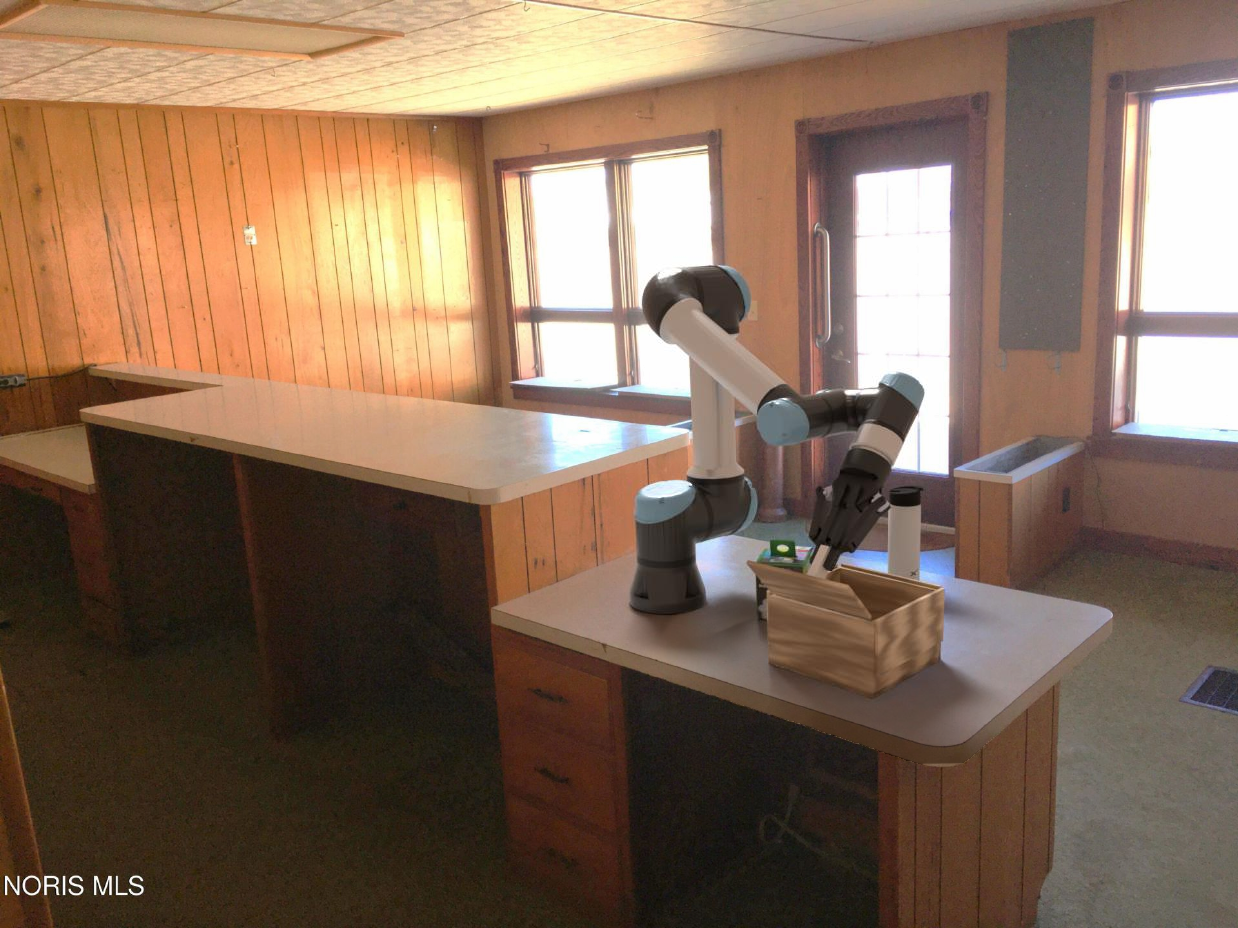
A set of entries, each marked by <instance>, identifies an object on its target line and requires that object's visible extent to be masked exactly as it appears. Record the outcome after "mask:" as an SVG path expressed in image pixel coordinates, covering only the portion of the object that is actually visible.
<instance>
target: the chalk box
mask: <svg viewBox="0 0 1238 928" xmlns="http://www.w3.org/2000/svg"><path fill="white" fill-rule="evenodd" d="M779 545H785V546H787V547H788V548H789V549H777V547H778V546H779ZM795 546H796V542H795V540H791V539H790V540H789V539H770V540H769V548H764V549H763V551H761V553H760V554H759V556H758V558H757V559H756V561H755V562H758V563H762V564H766V565H770V566H774V567H778V568H782V569H786V570H790V571H794V572H798V573H802V574H806V575H807V573H808V571H809V569H810V567H811V564H810V563H809V562H810V558H811V553H810V550H802V549H796V548H795ZM767 590H768V588H767V587H766V586H765V585H764V584H763V583H762V581H761V580H760V579H759V578H758V577H757V575H756V574H755V597H756V598H755V599H756V601H755V603H756V604H755V605H756V619H757V620H758V619H759V620H763V621H764V620H766V621H767Z"/></svg>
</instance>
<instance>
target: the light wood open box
mask: <svg viewBox="0 0 1238 928" xmlns="http://www.w3.org/2000/svg"><path fill="white" fill-rule="evenodd" d="M825 579H826V580H830V581H834V582H838V583H842V584H846V585H849V586H850V587H851V589H852V590H853V591H854V593H855V594H856V595H857V597H858V598H859V599H860V601H861V602H862V603H863V605H864V606H865V607H866V609H867V610H868V611H869V613H870V614H871V615H872V618H871V620H870V619H866V618H862V617H859V616H855V615H851V614H848V613H844V612H840V611H837V610H833V609H829V608H826V607H822V606H818V605H815V604H811V603H807V602H804V601H800V600H796V599H793V598H789V597H785V596H782V595H778V594H774V593H771V592H770V591H769V590H767V620H766V633H767V634H766V640H767V641H766V642H767V643H768V664H769V663H771V664H770V665H772V664H773V665H772V666H775V665H777V666H776V667H778V666H779V667H778V668H781V667H783V668H782V669H784V668H785V669H784V670H787V669H788V670H787V671H789V670H792V671H794V672H793V673H795V672H796V674H798V673H799V675H801V674H802V675H801V676H804V677H807V678H811V679H814V680H817V681H819V682H823V683H825V684H829V685H832V686H834V687H837V688H841V689H843V690H846V691H848V692H852V693H855V694H858V695H860V696H861V695H862V696H863V697H868V698H870V699H875V698H877V697H879V696H880V695H882V694H883V693H885V692H887V691H888V690H890V689H892V688H894V687H896V686H897V685H899V684H901V683H902V682H904V681H906V680H907V679H908V678H911V677H912V676H914V675H916V674H918V673H919V672H921V671H922V670H924V669H926V668H928V667H930V666H932V665H933V664H935V663H937V662H938V661H940V660H941V656H942V655H941V654H942V642H943V641H944V629H945V628H944V627H945V626H944V625H945V623H944V622H945V591H946V590H945V589H946V588H944V587H943V585H941V584H936V583H932V582H928V581H924V580H920V579H919V580H915V579H911V578H907V577H902V576H898V575H894V574H889V573H888V572H885V571H880V570H876V569H870V568H867V567H863V566H859V565H854V564H850V563H845V562H842V563H840V565H838V562H837V563H836V565H835V568H834V569H833V571H828V574H827V576H826V578H825ZM792 671H791V672H792Z"/></svg>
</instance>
